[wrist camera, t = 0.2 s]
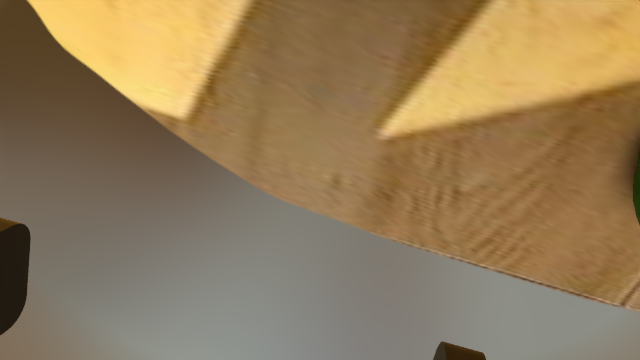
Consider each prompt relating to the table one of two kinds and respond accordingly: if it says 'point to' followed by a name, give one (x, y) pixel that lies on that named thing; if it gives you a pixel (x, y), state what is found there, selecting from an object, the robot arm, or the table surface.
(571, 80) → the table surface
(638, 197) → the bell pepper
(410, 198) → the table surface
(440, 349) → the robot arm
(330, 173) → the table surface
